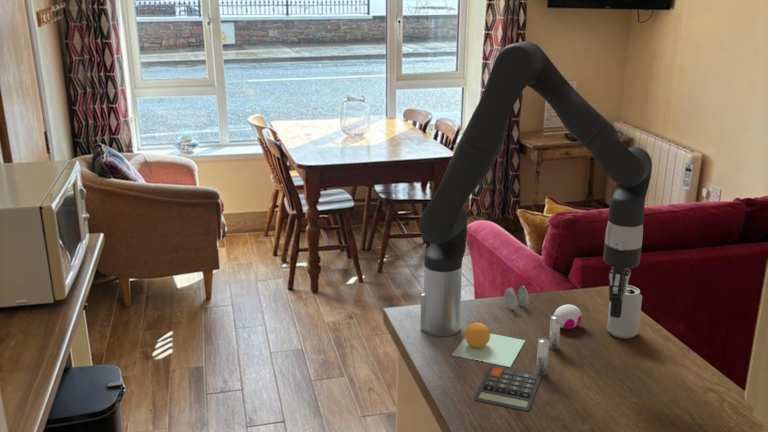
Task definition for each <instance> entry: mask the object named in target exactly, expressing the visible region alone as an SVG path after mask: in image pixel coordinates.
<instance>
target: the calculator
mask: <svg viewBox="0 0 768 432" xmlns="http://www.w3.org/2000/svg"><path fill="white" fill-rule="evenodd" d="M541 380H542V376H541V375H538V374H536V373H535V374H534V373H530V372H525V371H518V370H513V369H507V368H502V367H496V366H493V365H492V366H490V367H489V369H488V370H487V372H486V374H485V376H484V378H483V380H482V382H481V384H480V386H479V387H478V390H477V392H476V394H475V395H474V397H473V401H474V402H478V403H479V402H480V403H483V404H488V405H493V406H497V407H498V406H499V407H504V408H508V409H512V410H517V411H523V412H529V411H530V409H531V407H532V403H533V401H534V399H535V395H536V393H537V390H538V388H539V385H540V382H541Z"/></svg>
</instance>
